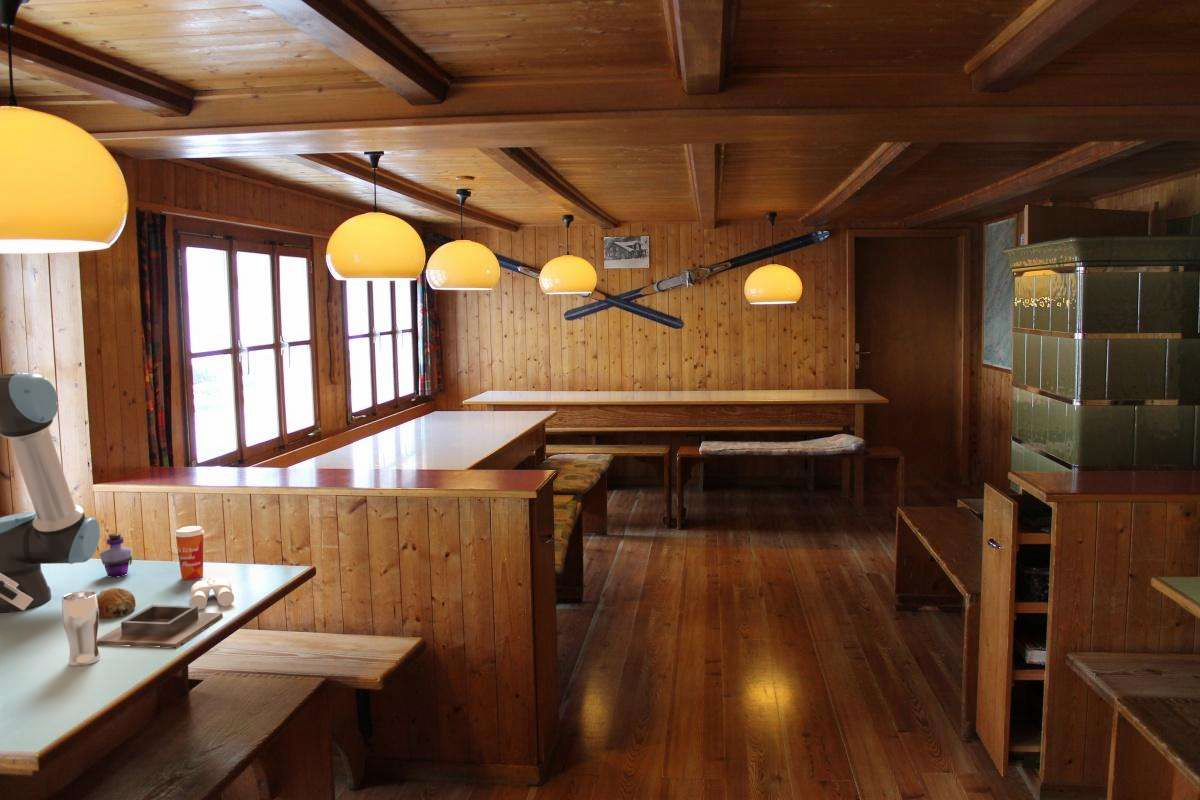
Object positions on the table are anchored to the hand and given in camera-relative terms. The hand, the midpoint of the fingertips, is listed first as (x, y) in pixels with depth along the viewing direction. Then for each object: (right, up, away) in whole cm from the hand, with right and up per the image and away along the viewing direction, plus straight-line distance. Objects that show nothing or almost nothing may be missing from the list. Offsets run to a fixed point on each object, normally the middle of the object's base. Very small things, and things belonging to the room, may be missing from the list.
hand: (21, 596), depth 194 cm
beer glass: (+8, -16, +9) cm, 21 cm away
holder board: (+16, -14, +27) cm, 35 cm away
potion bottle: (-17, -9, +72) cm, 74 cm away
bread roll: (-2, -13, +41) cm, 43 cm away
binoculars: (+19, -12, +50) cm, 55 cm away
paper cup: (+6, -9, +69) cm, 70 cm away
